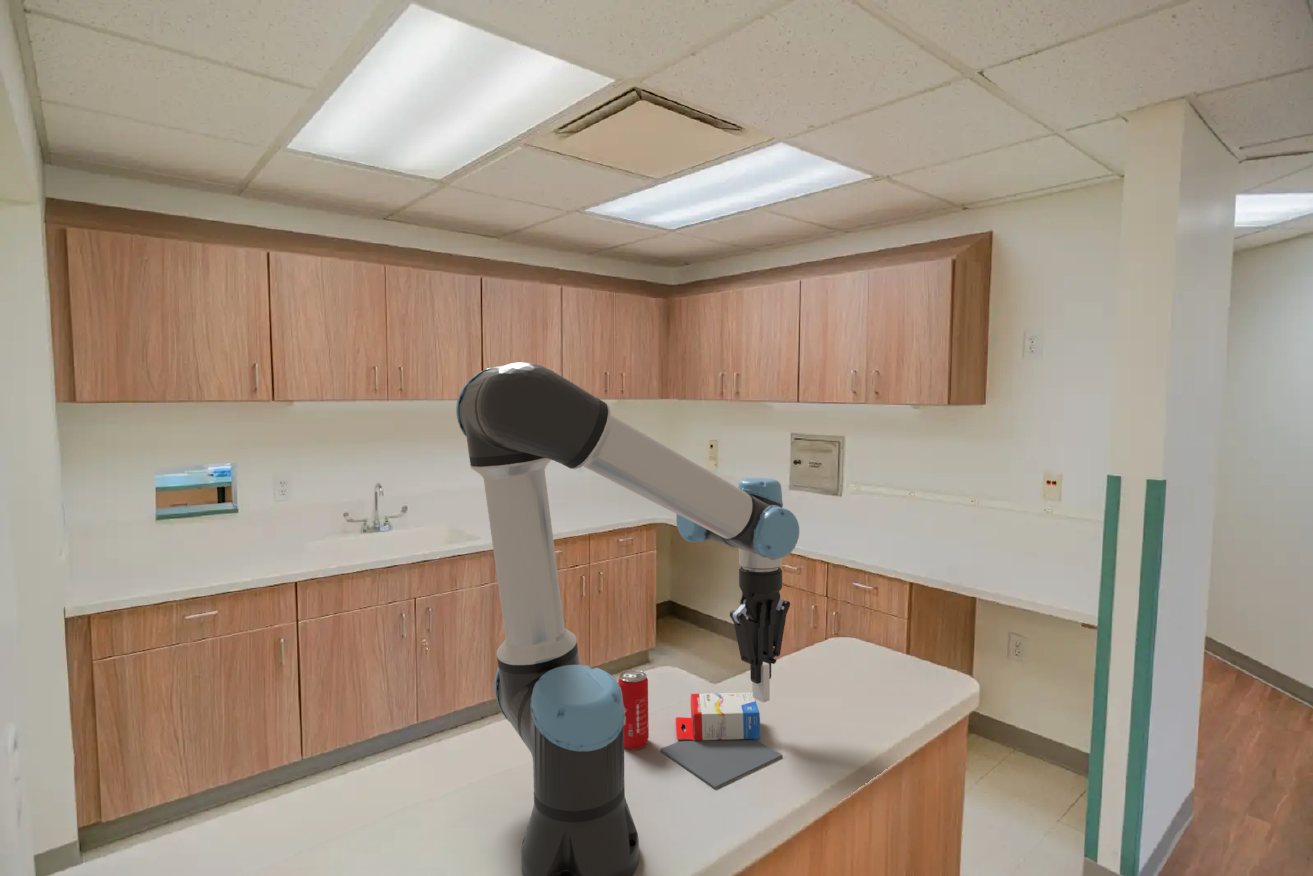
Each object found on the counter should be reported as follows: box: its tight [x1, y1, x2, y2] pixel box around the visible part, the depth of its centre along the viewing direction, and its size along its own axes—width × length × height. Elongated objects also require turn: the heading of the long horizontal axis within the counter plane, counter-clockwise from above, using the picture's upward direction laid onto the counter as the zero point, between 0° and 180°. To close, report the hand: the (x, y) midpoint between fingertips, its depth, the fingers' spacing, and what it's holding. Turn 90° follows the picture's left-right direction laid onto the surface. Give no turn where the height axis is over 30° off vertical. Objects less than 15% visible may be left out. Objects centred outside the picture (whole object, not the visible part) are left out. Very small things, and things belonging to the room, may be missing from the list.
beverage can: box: [617, 669, 650, 751], centre depth 113 cm, size 5×5×12 cm
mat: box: [659, 739, 783, 790], centre depth 109 cm, size 15×14×1 cm
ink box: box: [675, 691, 761, 741], centre depth 117 cm, size 8×5×15 cm
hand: (761, 698), depth 114 cm, fingers closed
